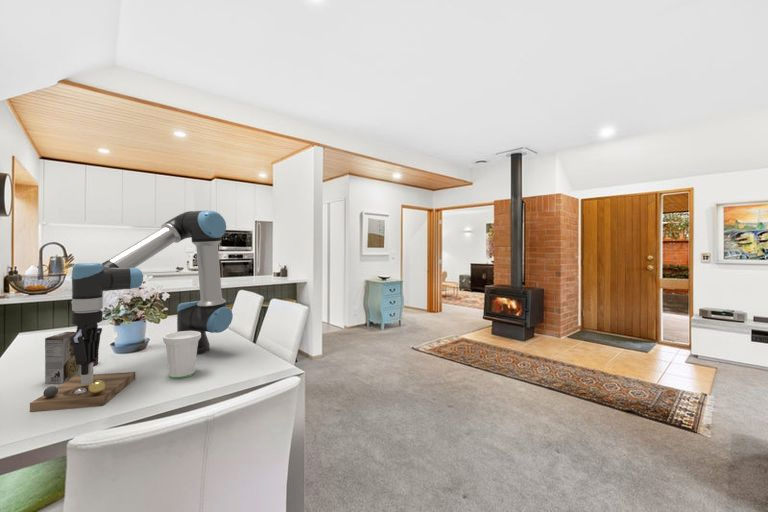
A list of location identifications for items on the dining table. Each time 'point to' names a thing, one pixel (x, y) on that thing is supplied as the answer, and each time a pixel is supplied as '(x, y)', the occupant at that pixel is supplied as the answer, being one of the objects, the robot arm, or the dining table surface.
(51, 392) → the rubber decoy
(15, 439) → the dining table surface
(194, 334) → the cup
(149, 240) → the robot arm
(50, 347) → the coffee box
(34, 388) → the dining table surface
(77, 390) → the steel ball
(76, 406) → the wooden board
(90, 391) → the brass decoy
